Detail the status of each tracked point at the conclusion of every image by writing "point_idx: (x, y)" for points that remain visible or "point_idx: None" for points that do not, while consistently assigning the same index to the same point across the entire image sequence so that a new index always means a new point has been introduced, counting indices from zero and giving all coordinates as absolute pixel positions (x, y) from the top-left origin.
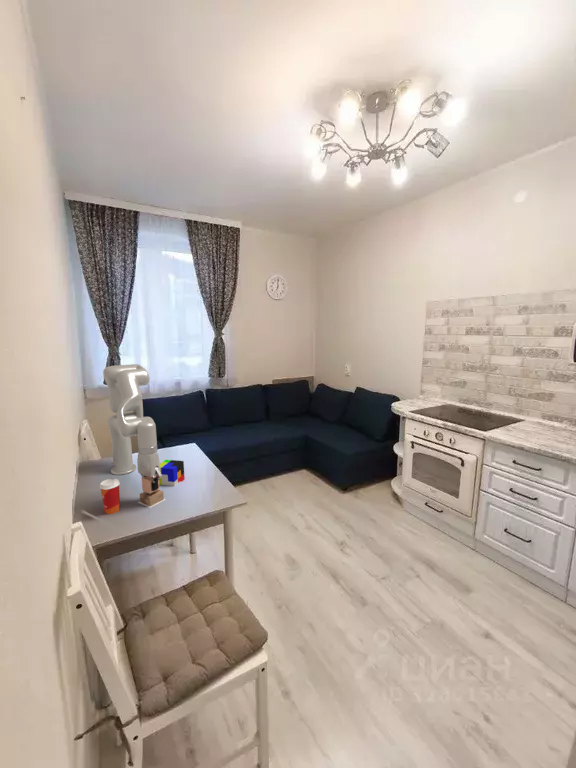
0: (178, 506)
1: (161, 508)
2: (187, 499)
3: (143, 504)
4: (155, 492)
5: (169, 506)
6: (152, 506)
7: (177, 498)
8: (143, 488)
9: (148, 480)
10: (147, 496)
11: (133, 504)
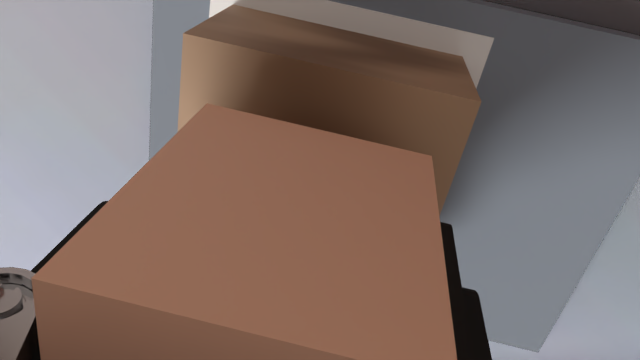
0: (6, 146)
1: (129, 52)
2: None
3: (371, 18)
4: None
5: (87, 119)
6: (209, 14)
7: None
8: (399, 176)
9: (74, 294)
10: (267, 67)
11: (565, 16)
